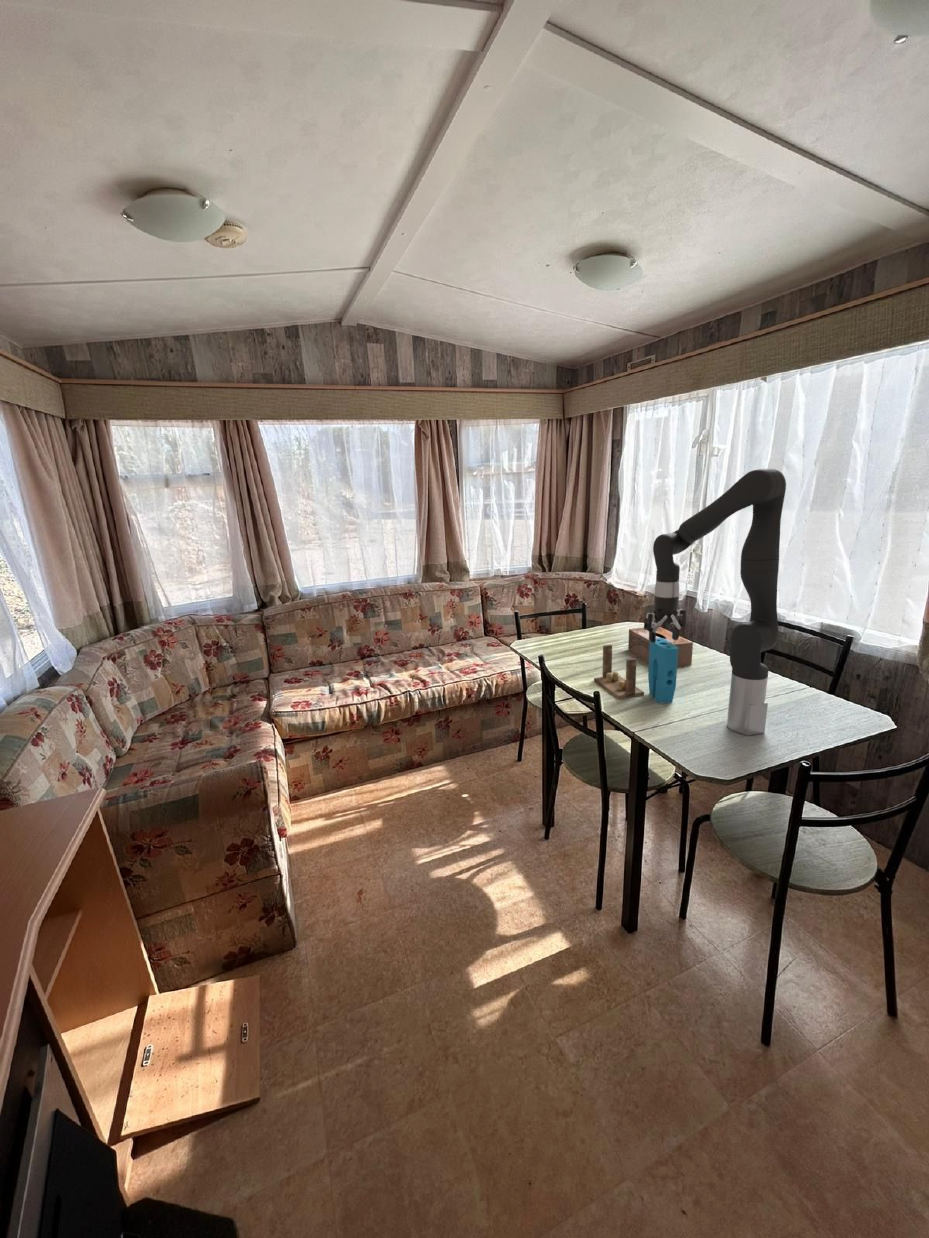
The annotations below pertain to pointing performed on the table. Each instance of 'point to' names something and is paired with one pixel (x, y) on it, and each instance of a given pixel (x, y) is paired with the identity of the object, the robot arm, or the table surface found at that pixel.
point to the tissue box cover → (641, 641)
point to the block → (662, 670)
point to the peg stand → (618, 677)
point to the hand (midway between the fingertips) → (663, 640)
